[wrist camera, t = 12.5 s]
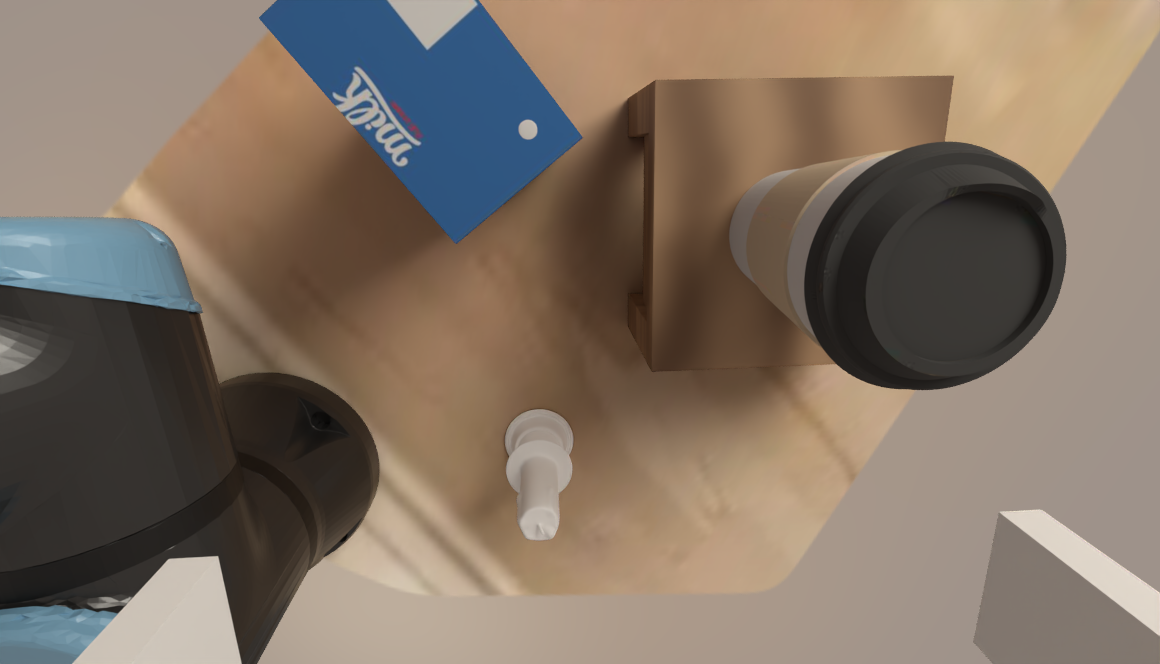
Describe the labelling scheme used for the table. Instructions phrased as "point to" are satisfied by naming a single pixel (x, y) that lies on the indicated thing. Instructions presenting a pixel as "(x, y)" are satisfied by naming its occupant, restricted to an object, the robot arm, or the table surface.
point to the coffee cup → (907, 260)
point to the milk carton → (431, 97)
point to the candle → (538, 469)
